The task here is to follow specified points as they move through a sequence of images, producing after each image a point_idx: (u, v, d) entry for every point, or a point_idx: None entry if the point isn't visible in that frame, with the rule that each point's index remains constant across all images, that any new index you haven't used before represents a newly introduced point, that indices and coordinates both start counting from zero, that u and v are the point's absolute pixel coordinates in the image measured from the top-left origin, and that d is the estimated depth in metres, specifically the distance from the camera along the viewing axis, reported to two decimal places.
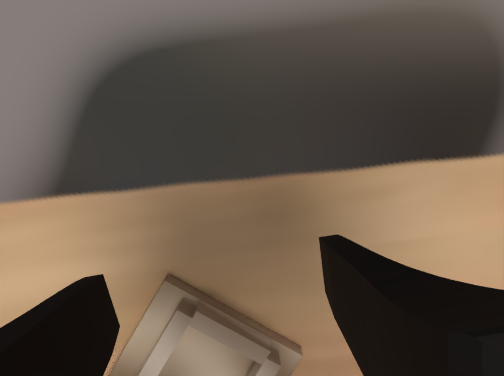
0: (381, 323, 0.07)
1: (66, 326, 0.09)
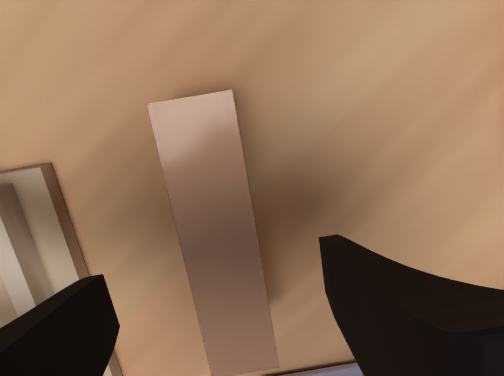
0: (381, 323, 0.07)
1: (66, 326, 0.09)
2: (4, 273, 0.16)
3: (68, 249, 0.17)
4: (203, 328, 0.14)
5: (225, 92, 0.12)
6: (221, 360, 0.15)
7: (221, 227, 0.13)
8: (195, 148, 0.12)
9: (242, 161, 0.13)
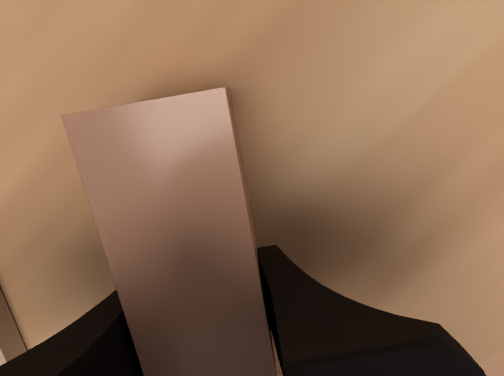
0: None
1: None
2: None
3: None
4: None
5: (212, 92, 0.06)
6: None
7: (208, 328, 0.08)
8: (158, 197, 0.07)
9: (245, 218, 0.07)
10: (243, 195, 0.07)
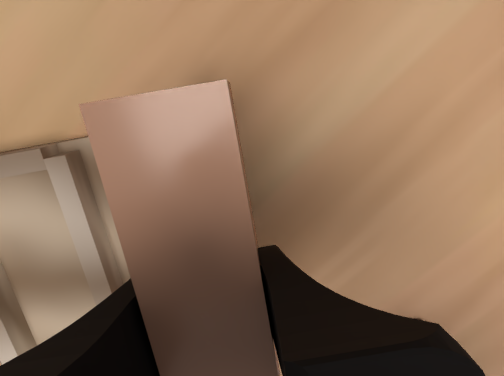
0: None
1: None
2: (74, 234, 0.17)
3: None
4: None
5: (214, 84, 0.07)
6: None
7: (210, 301, 0.08)
8: (165, 179, 0.07)
9: (244, 199, 0.08)
10: (243, 178, 0.08)
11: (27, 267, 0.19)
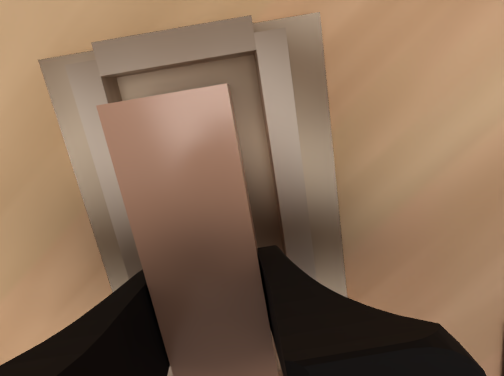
0: None
1: (143, 313, 0.09)
2: (276, 152, 0.12)
3: (331, 133, 0.13)
4: None
5: (216, 87, 0.08)
6: None
7: (212, 283, 0.09)
8: (172, 173, 0.08)
9: (242, 190, 0.08)
10: (241, 171, 0.08)
11: None
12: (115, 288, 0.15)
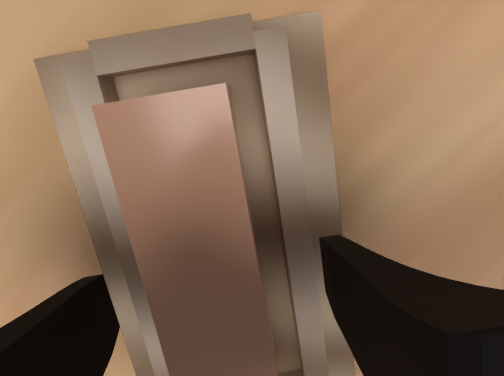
0: (381, 323, 0.07)
1: (66, 326, 0.09)
2: (276, 153, 0.12)
3: None
4: None
5: (214, 87, 0.08)
6: None
7: (211, 287, 0.09)
8: (169, 174, 0.08)
9: (242, 192, 0.08)
10: (240, 173, 0.08)
11: None
12: (113, 291, 0.14)
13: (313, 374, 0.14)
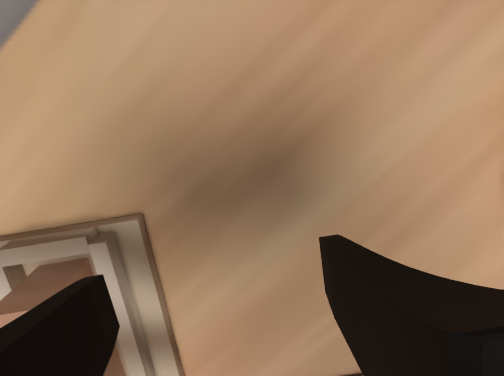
0: (381, 323, 0.07)
1: (66, 326, 0.09)
2: None
3: (154, 282, 0.22)
4: None
5: None
6: None
7: None
8: None
9: None
10: None
11: None
12: None
13: None
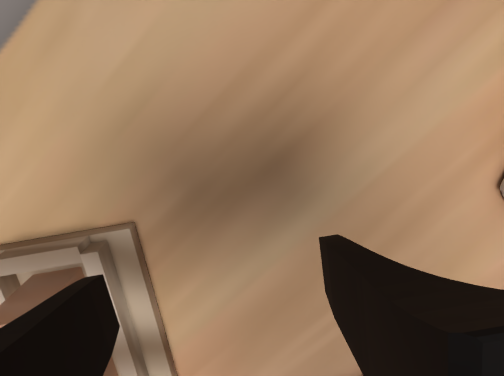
0: (381, 323, 0.07)
1: (66, 326, 0.09)
2: None
3: (147, 290, 0.22)
4: None
5: None
6: None
7: None
8: None
9: None
10: None
11: None
12: None
13: None
